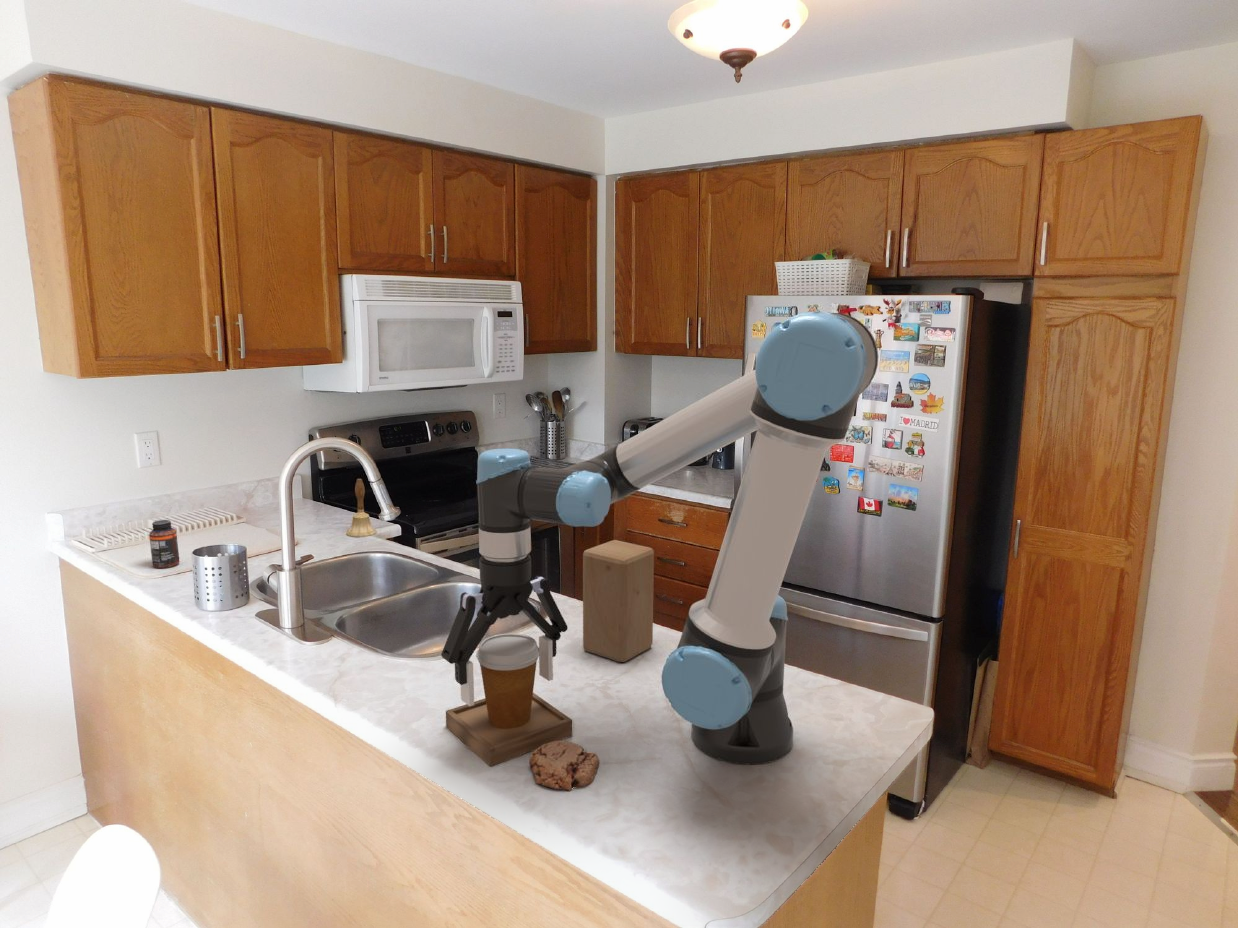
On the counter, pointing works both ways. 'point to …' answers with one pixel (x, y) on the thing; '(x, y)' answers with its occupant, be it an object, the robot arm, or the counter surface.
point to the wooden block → (618, 599)
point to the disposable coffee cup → (508, 677)
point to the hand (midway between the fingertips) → (508, 689)
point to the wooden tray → (507, 730)
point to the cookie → (563, 765)
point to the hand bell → (360, 516)
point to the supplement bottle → (164, 545)
